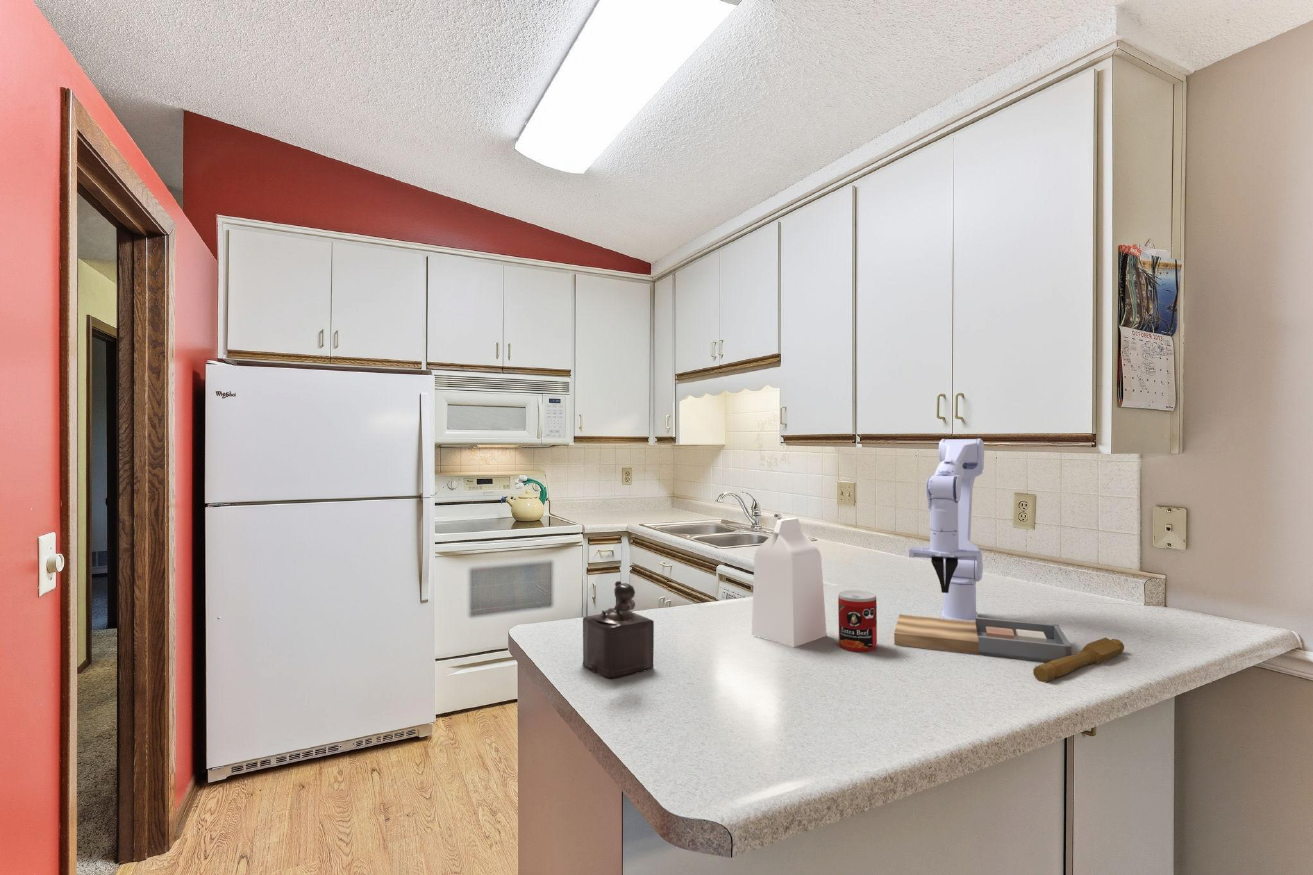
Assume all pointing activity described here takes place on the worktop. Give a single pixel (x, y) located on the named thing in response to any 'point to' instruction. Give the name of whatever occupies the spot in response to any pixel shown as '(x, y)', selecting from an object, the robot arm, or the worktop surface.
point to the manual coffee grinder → (618, 638)
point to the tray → (1022, 641)
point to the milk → (788, 587)
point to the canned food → (857, 620)
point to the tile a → (999, 633)
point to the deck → (937, 634)
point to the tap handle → (1079, 659)
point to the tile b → (1030, 636)
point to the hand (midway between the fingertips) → (945, 591)
